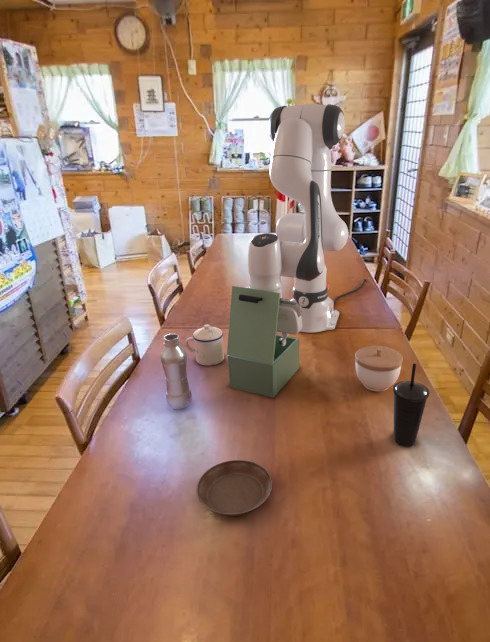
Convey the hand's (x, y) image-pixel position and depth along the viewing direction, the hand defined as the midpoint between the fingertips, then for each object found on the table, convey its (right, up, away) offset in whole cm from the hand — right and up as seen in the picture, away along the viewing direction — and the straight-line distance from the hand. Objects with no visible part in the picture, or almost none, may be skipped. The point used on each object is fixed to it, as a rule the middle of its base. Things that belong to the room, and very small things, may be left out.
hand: (267, 341), depth 128 cm
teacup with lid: (-20, -6, +14) cm, 25 cm away
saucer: (-6, -30, -37) cm, 48 cm away
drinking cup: (+32, -22, -23) cm, 45 cm away
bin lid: (-3, +5, -10) cm, 11 cm away
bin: (-1, -10, +3) cm, 11 cm away
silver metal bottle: (-23, -17, -9) cm, 30 cm away
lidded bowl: (+30, -12, -1) cm, 33 cm away
